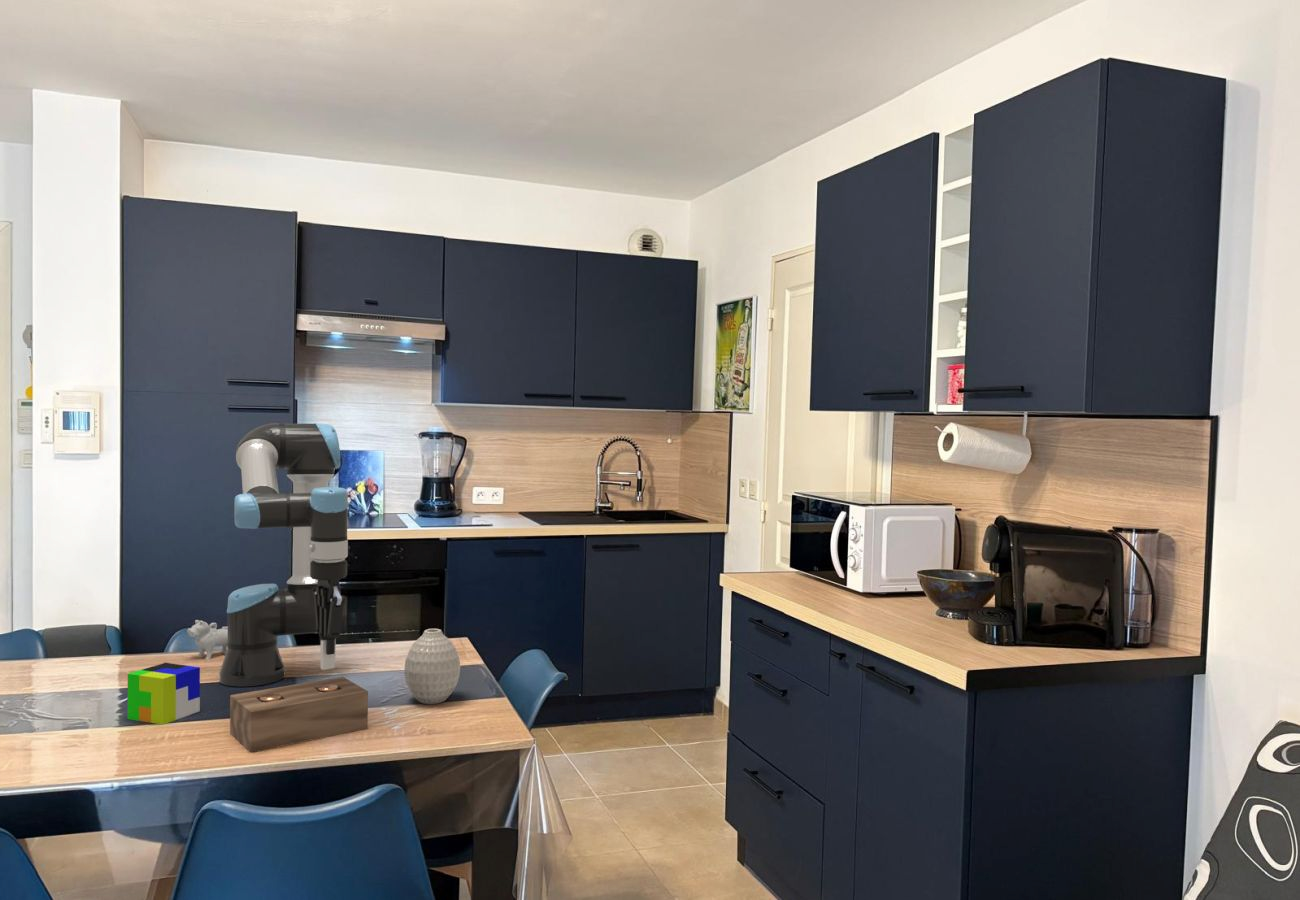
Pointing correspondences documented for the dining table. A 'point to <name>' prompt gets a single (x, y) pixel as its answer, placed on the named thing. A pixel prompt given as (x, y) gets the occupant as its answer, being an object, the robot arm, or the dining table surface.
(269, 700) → the peg
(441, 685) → the vase
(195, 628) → the dog figurine
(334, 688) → the peg
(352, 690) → the socket block
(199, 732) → the dining table surface
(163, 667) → the puzzle toy
